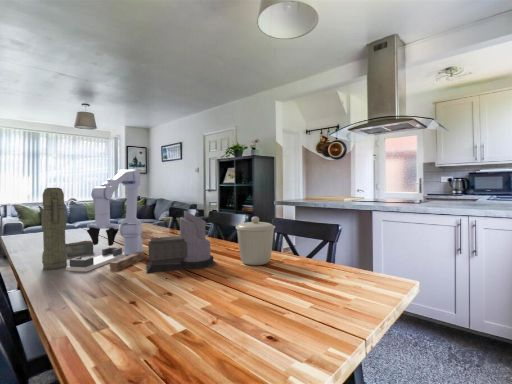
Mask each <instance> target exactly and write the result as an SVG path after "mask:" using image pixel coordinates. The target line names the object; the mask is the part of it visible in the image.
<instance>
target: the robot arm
mask: <svg viewBox="0 0 512 384" xmlns="http://www.w3.org/2000/svg"><path fill="white" fill-rule="evenodd" d="M120 184H121V185H122V186H124V187H126V189H127V190H126V207H125V209H126V211H125V218H124V219H123V220H121V221H120V224H118V223H111V212H110V211H111V209H110V208H111V205H110V200H111V199H113V194H114V192H115V191H116V190H118V189H119V185H120ZM140 185H141V173H140V171H139V170H138V169H137V168H136V169H135V168H134V169H118V170H117V171H116V175H115V176H114V177H112V178H107V179H106V181H104V182H102V183H101V184H100V185H99V186H94V187H93V188H92V191H91V194H90V195H91V199H92V202H93V205H94V223H87V224H86V228H87V229H86V232H87V233H88V234H89V235H88V236H89V237H90V239H91V241H92V242H93V246H97V245H99V242H100V241H99V240H100V239H99V236H100V230H101V229H105V232H106V236H107V245H108V246H109V247H111V246H113V245H114V243H115V239H116V236H117V234H118V232H119V235H121V237H122V238H123V251H122V253H124V254H125V256H128V255H131V254H134V253H136V252H145V250H144V249H143V238H142V236H141V235H142V232H143V226H142V225H143V224H142V221H141V220H140V219H139V218H137V210H138V209H137V208H138V188H139V186H140Z"/></svg>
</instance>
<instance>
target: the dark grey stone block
mask: <svg viewBox="0 0 512 384" xmlns="http://www.w3.org/2000/svg"><path fill="white" fill-rule="evenodd" d="M65 244H66V250H67V258H71V257H80V256H85V255H91V254H94V245H93V242H92V240H80V241H77V242H70V243H65Z"/></svg>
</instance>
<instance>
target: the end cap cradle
mask: <svg viewBox="0 0 512 384" xmlns="http://www.w3.org/2000/svg"><path fill="white" fill-rule="evenodd" d="M123 257H126V255H125V254H124V253H123V247H115V246H114V247H111V246H109V247H106V248H103V249H101V254H100V255H98V256H95V257H93V256H91V257H88V258H85V259H82V256H76V257H73V258H71V259H69V265H67V266H66V267H65V271H69V272H70V271H71V272H89V271H91V270H95V269H96V268H99V267H102V266H105V265H107V264H110V262H113V261H116V260H118V259H121V258H123Z"/></svg>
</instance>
